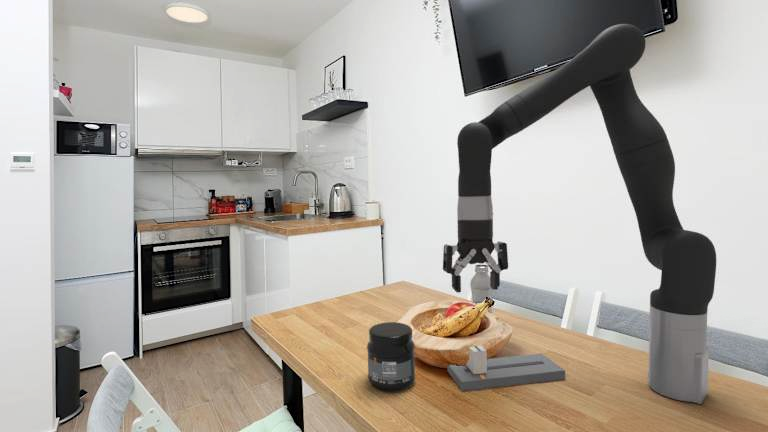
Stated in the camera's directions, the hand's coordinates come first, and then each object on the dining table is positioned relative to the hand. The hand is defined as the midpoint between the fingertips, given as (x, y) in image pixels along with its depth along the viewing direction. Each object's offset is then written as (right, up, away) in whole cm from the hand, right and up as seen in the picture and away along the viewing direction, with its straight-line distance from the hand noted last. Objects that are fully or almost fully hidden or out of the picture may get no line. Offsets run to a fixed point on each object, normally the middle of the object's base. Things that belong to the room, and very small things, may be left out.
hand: (475, 290), depth 83 cm
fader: (0, -18, +1) cm, 18 cm away
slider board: (+7, -20, +2) cm, 21 cm away
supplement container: (-19, -21, 0) cm, 28 cm away
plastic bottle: (+9, -18, +28) cm, 35 cm away
